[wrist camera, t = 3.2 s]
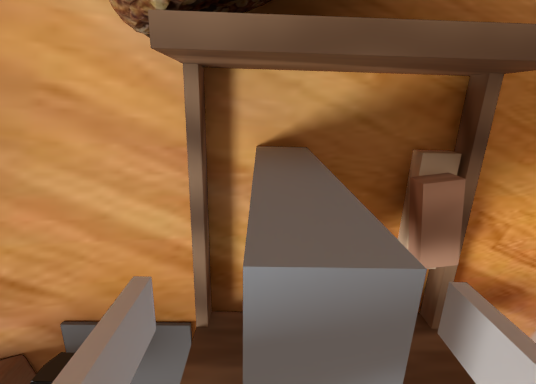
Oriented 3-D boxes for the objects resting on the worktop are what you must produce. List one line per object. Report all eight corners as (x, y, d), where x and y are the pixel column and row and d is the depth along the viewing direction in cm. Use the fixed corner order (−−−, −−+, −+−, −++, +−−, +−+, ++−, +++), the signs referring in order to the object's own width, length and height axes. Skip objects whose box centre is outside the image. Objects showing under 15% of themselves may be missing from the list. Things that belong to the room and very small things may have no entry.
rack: (188, 42, 21) (147, 9, 14) (488, 53, 22) (610, 26, 14) (201, 325, 28) (179, 407, 21) (427, 327, 29) (486, 407, 21)
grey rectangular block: (256, 146, 24) (243, 266, 6) (306, 147, 24) (427, 268, 6) (254, 258, 26) (242, 548, 9) (299, 258, 27) (368, 547, 9)
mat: (63, 321, 28) (60, 324, 28) (190, 322, 28) (190, 325, 28) (82, 415, 31) (80, 419, 31) (196, 415, 32) (195, 418, 31)
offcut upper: (410, 177, 23) (423, 184, 21) (448, 172, 23) (465, 179, 21) (408, 256, 25) (419, 269, 23) (443, 252, 25) (458, 264, 23)
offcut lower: (410, 148, 24) (422, 152, 22) (446, 149, 24) (461, 153, 23) (391, 256, 27) (401, 268, 25) (423, 257, 27) (435, 268, 26)
